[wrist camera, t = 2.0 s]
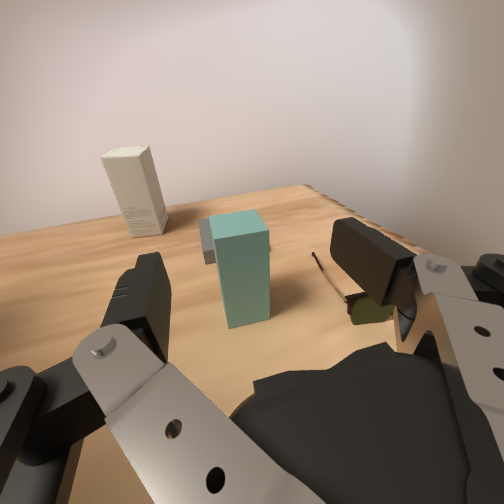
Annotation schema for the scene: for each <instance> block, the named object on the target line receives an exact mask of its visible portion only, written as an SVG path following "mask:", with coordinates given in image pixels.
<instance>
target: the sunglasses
mask: <svg viewBox="0 0 504 504" xmlns="http://www.w3.org/2000/svg"><path fill="white" fill-rule="evenodd" d="M313 255H314V257H315V259H316V262H317V264H318V265H319V267H320V269H321V271H322V272H323V274H324V275H325V277H326V278H327V280H328V281H329V282H330V284H331V285H332V286H333V287H334V289H335V290H336V291H337V293H338V294H339V295H340V296H341V297H342V299H343V300H344V302H345V303H347V304H348V308H347V313H348V314H349V315H350V319H351V321H352V323H353V324H354V325H360V324H369V323H379V322H384V321H386V320H387V319H388V318H389V317H390V316H391V315H393V310H394V308H395V305H394V304H390V305H386V306H382V307H380V306H379V305H378V304H377V303H376V302H375V301H374V300H373V299H372V298H371V297H370V296H369V295H368V294H367V293H366V292H361V293H357V294H352V295H348V296H344V295H343V294H342V293H341V291H340V290H339V289H338V288H337V287H336V286H335V285H334V284H333V283H332V282H331V280H330V279H329V278H328V277H327V275H326V274H325V272H324V270H323V268H322V267H321V265H320V263H319V261H318V259H317V257H316V255H315V253H314V252H312V256H313ZM416 255H417V254H416Z"/></svg>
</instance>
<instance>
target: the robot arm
mask: <svg viewBox="0 0 504 504" xmlns="http://www.w3.org/2000/svg"><path fill="white" fill-rule="evenodd" d="M330 253H331V256H332V259H333V260H334V261H335V262H336V263H337V264H338V265H339V266H340V267H341V268H342V269H343V270H344V271H345V272H346V273H347V274H348V275H349V276H350V277H351V278H352V279H353V280H354V281H355V282H356V283H357V284H358V285H359V286H360V287H361V288H362V289H363V290H364V291H365V292H366V293H367V294H368V295H369V296H370V297H371V298H372V299H373V300H374V301H375V302H376V303H377V304H378V305H379V306H380V307H382V306H386V305H390V304H394V305H395V308H394V310H393V318H394V326H395V335H396V344H397V352H394V350H393V349H392V348H391V347H390V346H389V345H388V344H387V342H383V343H380V344H377V345H373V346H370V347H367V348H363V349H360V350H357V351H355V352H353V353H352V354H350V355H349V356H348V357H346V358H345V359H343V360H342V361H340V362H339V363H337V364H336V365H335V366H333V367H332V368H330V369H327V370H300V371H286V372H283V373H279V374H276V375H273V376H269V377H266V378H263V379H259V380H256V381H253V385H254V394H252V395H251V396H249V397H248V398H247V399H246V400H244V401H243V402H242V403H241V404H240V405H239V406H238V407H237V408H236V409H235V410H234V411H233V413H232V414H231V415H230V417H229V418H228V417H227V416H226V415H225V414H224V413H223V412H222V411H221V410H220V409H219V408H218V407H217V406H216V405H215V404H214V403H213V402H212V401H210V400H209V399H208V398H207V397H206V396H205V395H204V394H203V393H202V392H201V391H200V390H199V389H198V388H197V387H196V386H195V385H194V384H193V383H192V382H191V381H190V380H189V379H187V378H186V377H185V376H184V375H183V374H182V373H181V372H180V371H179V370H178V369H177V368H176V367H175V366H174V365H173V364H171V363H170V362H167V360H168V344H169V328H170V312H171V295H172V293H171V285H170V281H169V278H168V275H167V272H166V269H165V266H164V264H163V261H162V258H161V255H160V253H159V252H154V253H148V254H143V255H139V256H138V259H137V262H136V266H135V268H133V269H128V270H127V271H126V272H125V273H124V274H123V275H122V276H121V277H120V278H119V279H118V282H117V285H116V287H115V290H114V293H113V295H112V298H111V300H110V303H109V306H108V308H107V311H106V314H105V316H104V319H103V322H102V324H101V327H100V328H99V329H97V330H95V331H94V332H92V333H91V334H89V335H88V336H87V337H86V338H84V339H83V340H82V341H81V342H80V344H79V345H78V346H77V348H76V349H75V351H74V354H73V357H71V358H69V359H67V360H65V361H63V362H61V363H59V364H57V365H55V366H52V367H50V368H48V369H46V370H44V371H42V372H40V373H38V374H36V373H35V372H34V371H33V370H32V369H31V368H30V367H27V366H16V367H12V368H9V369H6V370H3V371H1V372H0V504H68V501H69V497H70V493H71V489H72V485H73V481H74V477H75V473H76V469H77V465H78V461H79V457H80V453H81V449H82V445H83V441H84V437H86V436H87V435H89V434H91V433H92V432H94V431H95V430H97V429H99V428H100V427H102V426H103V425H105V424H107V426H108V427H109V429H110V431H111V432H112V434H113V436H114V437H115V439H116V441H117V442H118V444H119V446H120V447H121V449H122V450H123V452H124V454H125V455H126V457H127V459H128V460H129V462H130V464H131V465H132V467H133V468H134V470H135V472H136V473H137V475H138V477H139V478H140V480H141V482H142V483H143V485H144V487H145V488H146V490H147V491H148V493H149V495H150V496H151V498H152V500H153V501H154V503H155V504H504V255H500V254H484V255H482V256H481V257H480V258H479V260H478V262H477V263H476V265H475V266H459V265H458V264H457V263H456V262H454V261H452V260H450V259H448V258H446V257H443V256H439V255H435V254H419V255H416V254H415V253H413V252H411V251H410V250H408V249H407V248H405V247H403V246H402V245H400V244H399V243H397V242H395V241H394V240H391V238H389V237H387V236H384V234H383V233H381V232H379V231H378V230H376V229H374V228H371V227H368V226H366V225H365V224H363V223H362V222H360V221H359V220H357V219H355V218H354V217H349V218H344V219H338V220H336V221H335V222H334V225H333V231H332V238H331V245H330ZM164 363H165V364H164Z"/></svg>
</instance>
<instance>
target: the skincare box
mask: <svg viewBox="0 0 504 504" xmlns="http://www.w3.org/2000/svg"><path fill="white" fill-rule="evenodd" d="M100 158H101V160H102V162H103V165H104V168H105V170H106V173H107V176H108V178H109V181H110V183H111V186H112V189H113V191H114V194H115V197H116V199H117V202H118V204H119V207H120V210H121V212H122V215H123V218H124V220H125V223H126V225H127V228H128V231H129V233H130V236H131V238H138V237H147V236H157V235H162V234H163V232H164V229H165V226H166V223H167V220H168V216H167V212H166V208H165V205H164V201H163V197H162V193H161V189H160V185H159V182H158V178H157V174H156V170H155V166H154V163H153V159H152V155H151V151H150V147H149V146H138V147H121V148H116V149H114V150H112V151H111V152H109V153H107V154H105V155H104V156H101V157H100Z"/></svg>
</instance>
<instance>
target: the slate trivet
mask: <svg viewBox="0 0 504 504" xmlns="http://www.w3.org/2000/svg"><path fill="white" fill-rule="evenodd" d="M198 221H199V227H200V234H201V241H202V248H203V254H204V259H205V264H210V263H216V258H215V252H214V246H213V240H212V234H211V228H210V222H209V218H208V219H201V220H198Z"/></svg>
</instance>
